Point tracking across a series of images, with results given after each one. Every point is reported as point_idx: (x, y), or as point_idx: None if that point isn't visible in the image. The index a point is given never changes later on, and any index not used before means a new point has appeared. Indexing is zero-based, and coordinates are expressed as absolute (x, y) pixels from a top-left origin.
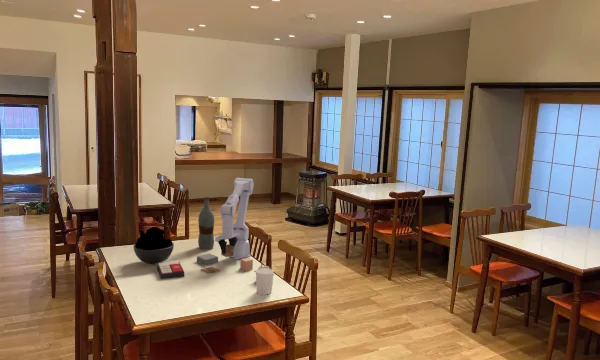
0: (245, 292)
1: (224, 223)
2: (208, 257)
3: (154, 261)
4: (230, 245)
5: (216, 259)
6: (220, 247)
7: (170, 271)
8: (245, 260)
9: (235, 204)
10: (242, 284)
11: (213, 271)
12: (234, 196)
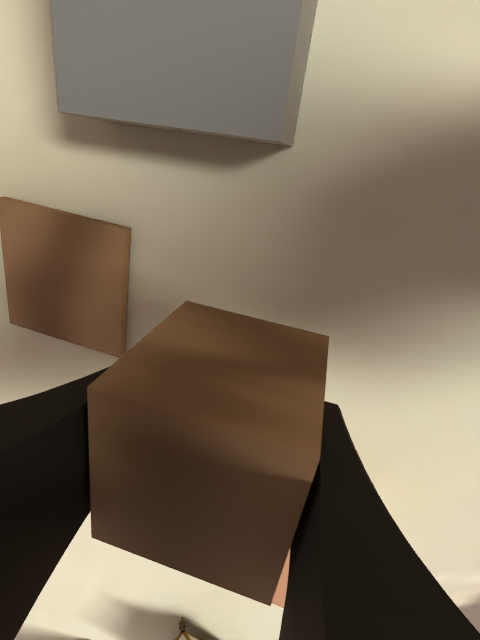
0: (41, 606)
1: None
2: (148, 37)
3: None
4: (264, 539)
5: (254, 139)
6: (50, 392)
7: None
8: (281, 584)
9: None
10: (86, 570)
11: (57, 335)
12: None
